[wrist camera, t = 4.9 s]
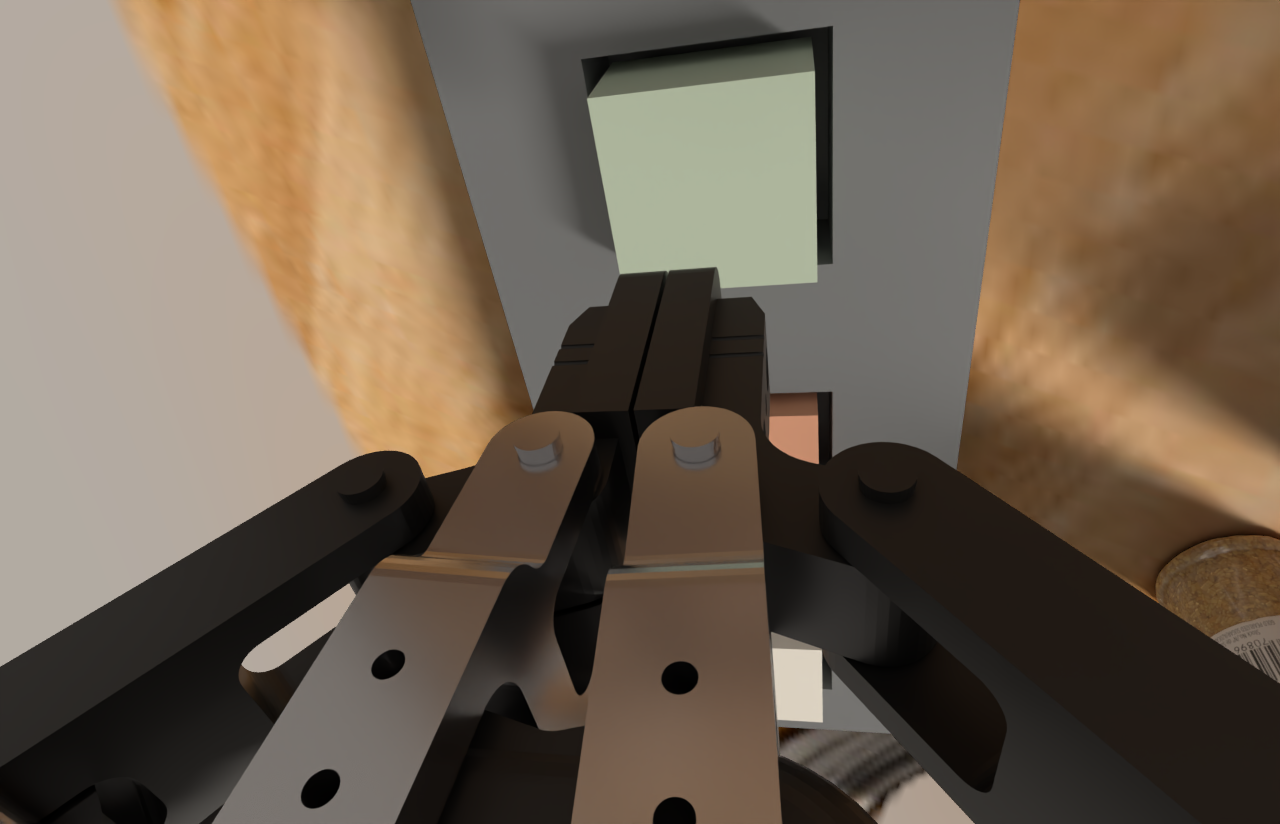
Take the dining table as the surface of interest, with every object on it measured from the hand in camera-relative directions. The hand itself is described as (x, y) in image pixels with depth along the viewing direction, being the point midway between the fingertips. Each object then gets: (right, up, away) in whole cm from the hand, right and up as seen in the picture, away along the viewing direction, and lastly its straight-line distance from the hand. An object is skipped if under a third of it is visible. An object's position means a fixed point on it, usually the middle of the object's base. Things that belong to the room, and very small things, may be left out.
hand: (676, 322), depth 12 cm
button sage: (+1, +5, +6) cm, 8 cm away
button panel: (+3, -1, +13) cm, 13 cm away
